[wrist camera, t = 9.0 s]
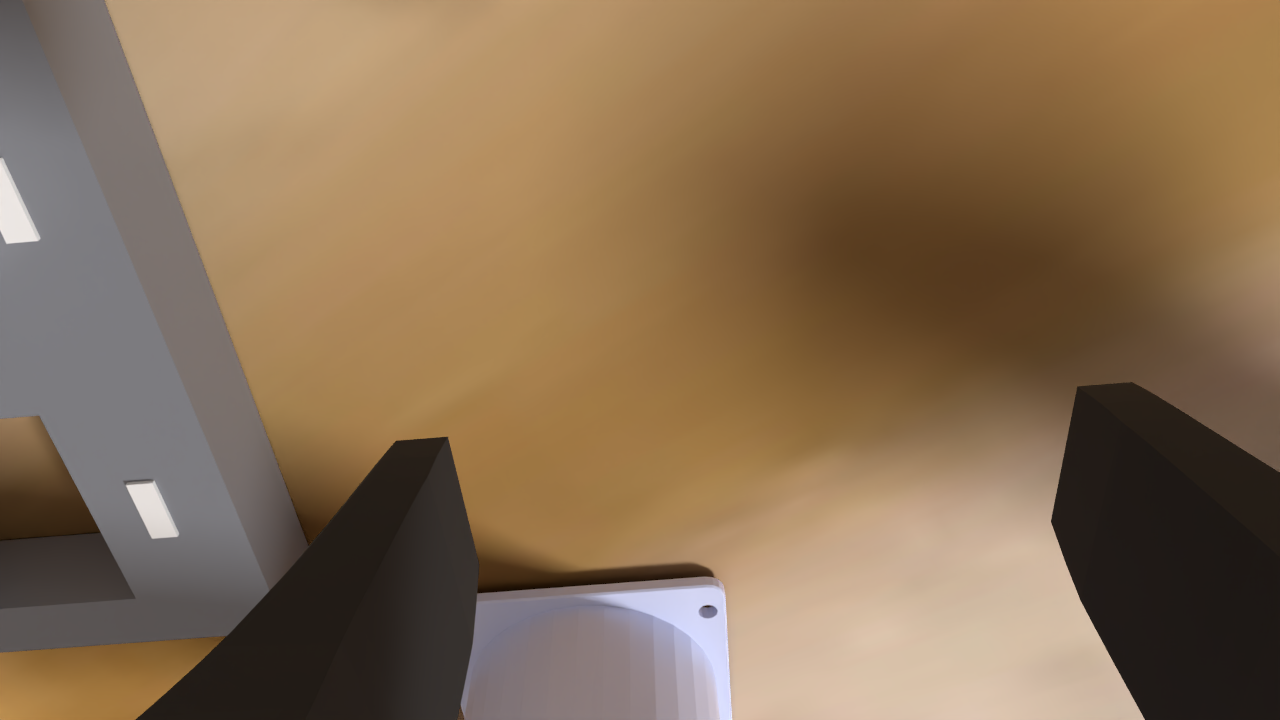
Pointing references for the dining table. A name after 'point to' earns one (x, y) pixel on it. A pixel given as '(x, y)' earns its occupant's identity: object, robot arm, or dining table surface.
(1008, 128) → the dining table surface
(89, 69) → the port panel
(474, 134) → the dining table surface
